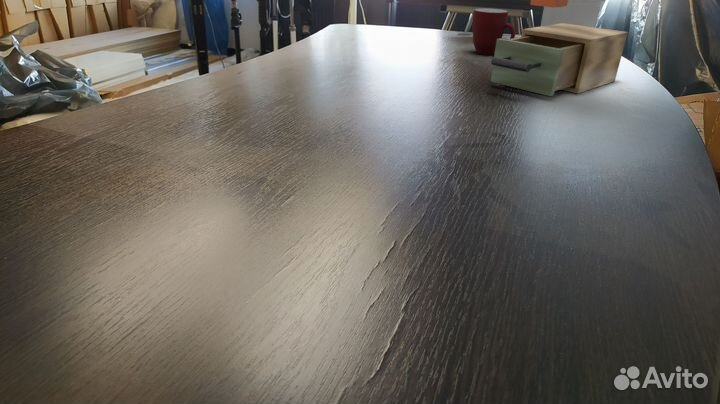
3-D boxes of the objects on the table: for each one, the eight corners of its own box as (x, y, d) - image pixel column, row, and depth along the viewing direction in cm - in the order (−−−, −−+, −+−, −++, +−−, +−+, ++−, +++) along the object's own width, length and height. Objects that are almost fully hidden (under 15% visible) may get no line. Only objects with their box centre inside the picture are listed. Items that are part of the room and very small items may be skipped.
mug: (513, 53, 125) (520, 10, 120) (510, 59, 118) (517, 14, 114) (471, 49, 128) (476, 7, 123) (465, 54, 121) (471, 11, 117)
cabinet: (578, 93, 92) (590, 39, 87) (513, 78, 101) (522, 29, 96) (614, 81, 101) (627, 31, 97) (553, 68, 110) (562, 23, 105)
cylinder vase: (531, 55, 122) (552, -59, 111) (540, 47, 132) (560, -59, 121) (585, 61, 118) (613, -58, 106) (590, 53, 127) (616, -57, 116)
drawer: (535, 101, 83) (544, 53, 80) (474, 85, 91) (480, 41, 88) (589, 83, 95) (599, 41, 91) (531, 71, 103) (538, 32, 99)
